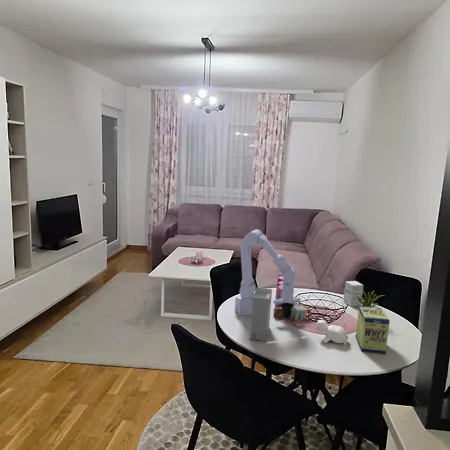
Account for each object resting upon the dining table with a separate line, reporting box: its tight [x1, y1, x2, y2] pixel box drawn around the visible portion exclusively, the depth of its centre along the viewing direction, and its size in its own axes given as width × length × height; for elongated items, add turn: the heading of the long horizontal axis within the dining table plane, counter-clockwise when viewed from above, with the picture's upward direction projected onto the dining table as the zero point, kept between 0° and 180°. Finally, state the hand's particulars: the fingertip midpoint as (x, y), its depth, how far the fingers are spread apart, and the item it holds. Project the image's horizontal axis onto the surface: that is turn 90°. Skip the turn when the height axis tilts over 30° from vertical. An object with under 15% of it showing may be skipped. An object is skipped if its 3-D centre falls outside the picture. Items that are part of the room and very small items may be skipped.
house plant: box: [356, 289, 386, 308], centre depth 212 cm, size 14×14×16 cm
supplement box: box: [342, 280, 364, 307], centre depth 236 cm, size 7×7×13 cm
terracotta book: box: [299, 304, 308, 320], centre depth 212 cm, size 2×6×5 cm, turn 22°
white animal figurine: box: [315, 319, 349, 347], centre depth 188 cm, size 9×8×15 cm
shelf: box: [272, 303, 312, 324], centre depth 211 cm, size 17×8×6 cm, turn 112°
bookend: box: [287, 309, 297, 320], centre depth 210 cm, size 3×6×4 cm, turn 20°
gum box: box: [274, 274, 283, 308], centre depth 230 cm, size 24×8×14 cm, turn 170°
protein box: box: [355, 306, 390, 355], centre depth 184 cm, size 10×16×16 cm
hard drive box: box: [249, 286, 273, 342], centre depth 190 cm, size 16×8×20 cm, turn 168°
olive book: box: [292, 305, 300, 321], centre depth 211 cm, size 2×6×5 cm, turn 20°
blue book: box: [294, 305, 304, 321], centre depth 212 cm, size 2×6×5 cm, turn 22°
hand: (285, 316), depth 209 cm, fingers closed
